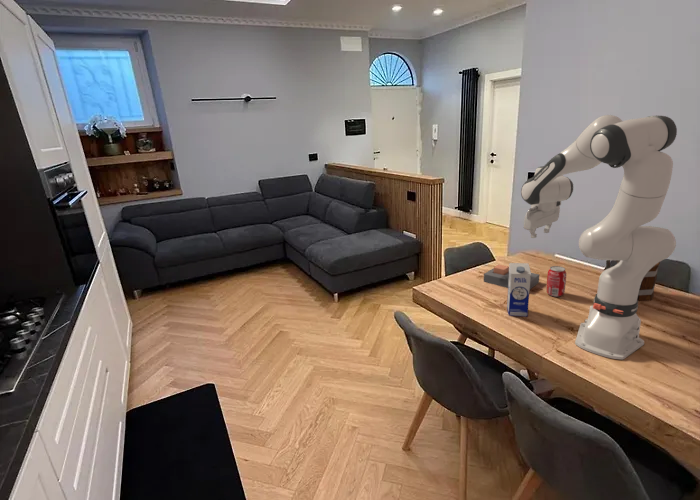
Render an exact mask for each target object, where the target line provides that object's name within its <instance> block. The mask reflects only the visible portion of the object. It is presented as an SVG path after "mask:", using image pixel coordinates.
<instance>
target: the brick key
mask: <svg viewBox="0 0 700 500" xmlns="http://www.w3.org/2000/svg"><path fill="white" fill-rule="evenodd" d="M493 268H494V273H497V274H501V275H505V274H507V273H508V272H509V266H507V265H505V264H504V265H503V264H497V265H496V266H493Z"/></svg>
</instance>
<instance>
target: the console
mask: <svg viewBox="0 0 700 500" xmlns="http://www.w3.org/2000/svg"><path fill="white" fill-rule="evenodd" d="M540 276H541V275H540V273H539V274H537V273H534V272H531V277H530V290H531V289H533V288H534V287H535V286H537V285H538V284H539V283H540ZM508 281H509V272H508V273H507V274H505V275H501V274H497V273H494V267H492V268H491V269H489V270H488V271H487V272H484V273H483V283H487V284H491V285H495V286H498V287H499V286H500V287H502V288H506V289H508Z"/></svg>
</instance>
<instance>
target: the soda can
mask: <svg viewBox="0 0 700 500" xmlns="http://www.w3.org/2000/svg"><path fill="white" fill-rule="evenodd" d="M566 285H567V271H566V268H565V267H563V266H561V265H559V266H558V265H551V266H550V267H549V269H548V270H547V276H546V287H545V288H546V289H545V290H546V293H547V294H548V295H549V296H550V297H556V298H559V297H561V296H564V295H565V291H566Z"/></svg>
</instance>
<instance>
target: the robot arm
mask: <svg viewBox="0 0 700 500" xmlns="http://www.w3.org/2000/svg"><path fill="white" fill-rule="evenodd" d="M677 133H678V128H677V125H676V123H675V121H674V120H673V119H672V118H670V117H669V116H666V115H650V116H646V117H638V118H630V119H625V120H622V119H621V118H620V117H618V116H616V115H613V114H605V115H601V116H599V117H597V118H596V119H594V120H593V121H592V122H590V124H589V125H588V126H586V128H584V130H583V131H582V132H581V133H580V135H578V137H577V138H576V139H575V140H574V141H573V142H572V143H571V144H570V145H569V146H567V147H566V148H565V149H563V150H562V151H561V152H559V153H557V154H556V155H554V156H553V157H552V158H550V159H549V161H547V162H546V164H544V165H543V166H538V167H537V168H536V169H535V172H534V175H533V176H532V177H531V178H527V180H526V181H525V182H524V183H523V185H522V187H521V188H520V195H521V198H522V200H523V201H524V202H525V203H526V204H528V205H530V207H529V209H528V210H527V211H526V213H525V215H524V219H523V229H524V230H525V231H526V230H527V231H529V232H530V233H529V234H530V238H531V239H536V238H537V237H538V236H537V235H538V234H537V233H536V231H537V229H539V228H542V227H544V228H543V233H544V234H548V233H550V230H551V227H552V225H553V223H554V222H557V221H558V219H559V218H560V211H561V205H562V201H563V202H564V201H567V200H568V199H570V198H571V196H572V194H573V192H574V183H573V181H572V180H571V178H569V177H568V176H565V175H567V174H568V175H569V174H572V173H577V172H583V171H588V170H591V169H593V168H595V167H597V166H598V165H600V164H607V165H608V166H609V167H610V168H612V169H617V168H620V167H622V168H623V177H622V180H621V181H620V182H621V183H620V186H619V189H618V193H617V196H616V199H615V202H614V203H613V206H612V208H611V210H610V211H609V213H608V214H607V215H606V216H605V217H604V218H603V219H601V220H600V221H599V222H597V223H596V224H594V225H592V226H590V227H587V229H585V230H584V231H583V232H581V234H580V236H579V239H578V247H579V251H580V252H581V253H582V255H583V256H584V257H586V258H589V259H592V260H593V259H594V260H600V261H606V260H610V261H615V260H621V261H620V262H619V263H616V264H615V265H614V266H610V268H608V269H606V268H605V270H603V271H602V272H601V273H600V276H599V277H598V285H597V292H596V293H595V296H594V298H593V303H592V305H590V306H589V313H588V316H587V319H586V318H585V319H584V322H580V325H579V328H578V332H577V334H576V337H575V341H574V344H575V345H576V346H577V347H579V348H580V349H583V350H585V351H587V352H590V353H592V354H594V355H598V356H601V357H605V358H608V359H615V360H621V361H622V360H625V359H626V358H627V357H629V356H631V355H632V354H634V353H635V352H636V351H637V350H638V349H640V348H642V346H644V345H645V340H644V339H642V338H641V337H640V329H641V323H642V320H641V319H642V318H640V317H639V316H638V314H637V311H638V309H639V301H638V300H637V298H638V293H639V289H640V285H641V282H642V280H643V278H644V276H645V275H646V273H647V272H648V271H649V270H650V269H651V268H652V267H653V266H654V265H656V264H657V263H658V262H660V263H661V262H662V261H663V260H666V259H668V258H670V257H671V256H672V255H673V253H674V252H675V250H676V246H677V245H676V244H677V240H676V237H675V236H674V234H673V232H672V231H671V230H670V229H668V228H666V227H664V228H663V227H658V226H651V225H649V226H648V225H646V224H648V223H651V222H652V221H654V220H655V219H656V218H657V217H658V216H659V214H660V212H661V210H662V206H663V204H664V201H665V198H666V196H667V194H668V190H669V187H670V183H671V180H672V175H673V168H674V167H673V166H674V161H673V159H672V157H671V156H670V155H669V154H667V153H665V152H663V150H665V149H667V148H669V147H670V146H671V145H673V143H674V142H675V140H676V139H677V135H678V134H677Z"/></svg>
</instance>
